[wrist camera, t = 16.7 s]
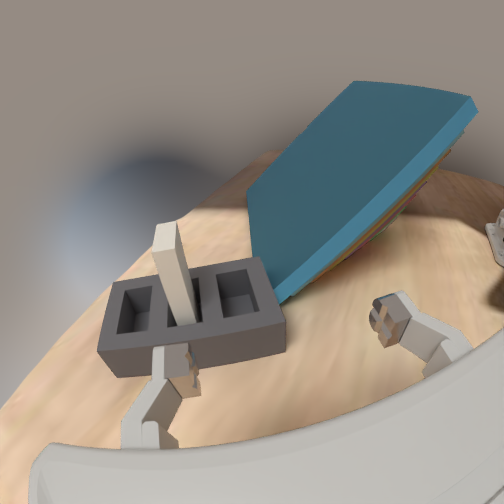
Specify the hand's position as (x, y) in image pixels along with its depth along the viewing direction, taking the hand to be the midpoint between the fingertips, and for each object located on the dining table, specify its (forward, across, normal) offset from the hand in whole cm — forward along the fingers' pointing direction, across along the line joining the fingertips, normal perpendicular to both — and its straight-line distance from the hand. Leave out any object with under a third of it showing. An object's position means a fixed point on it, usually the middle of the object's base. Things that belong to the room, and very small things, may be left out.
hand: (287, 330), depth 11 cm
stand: (+14, +7, +16) cm, 23 cm away
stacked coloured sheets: (+31, -16, +17) cm, 39 cm away
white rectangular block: (+14, +7, +15) cm, 22 cm away
